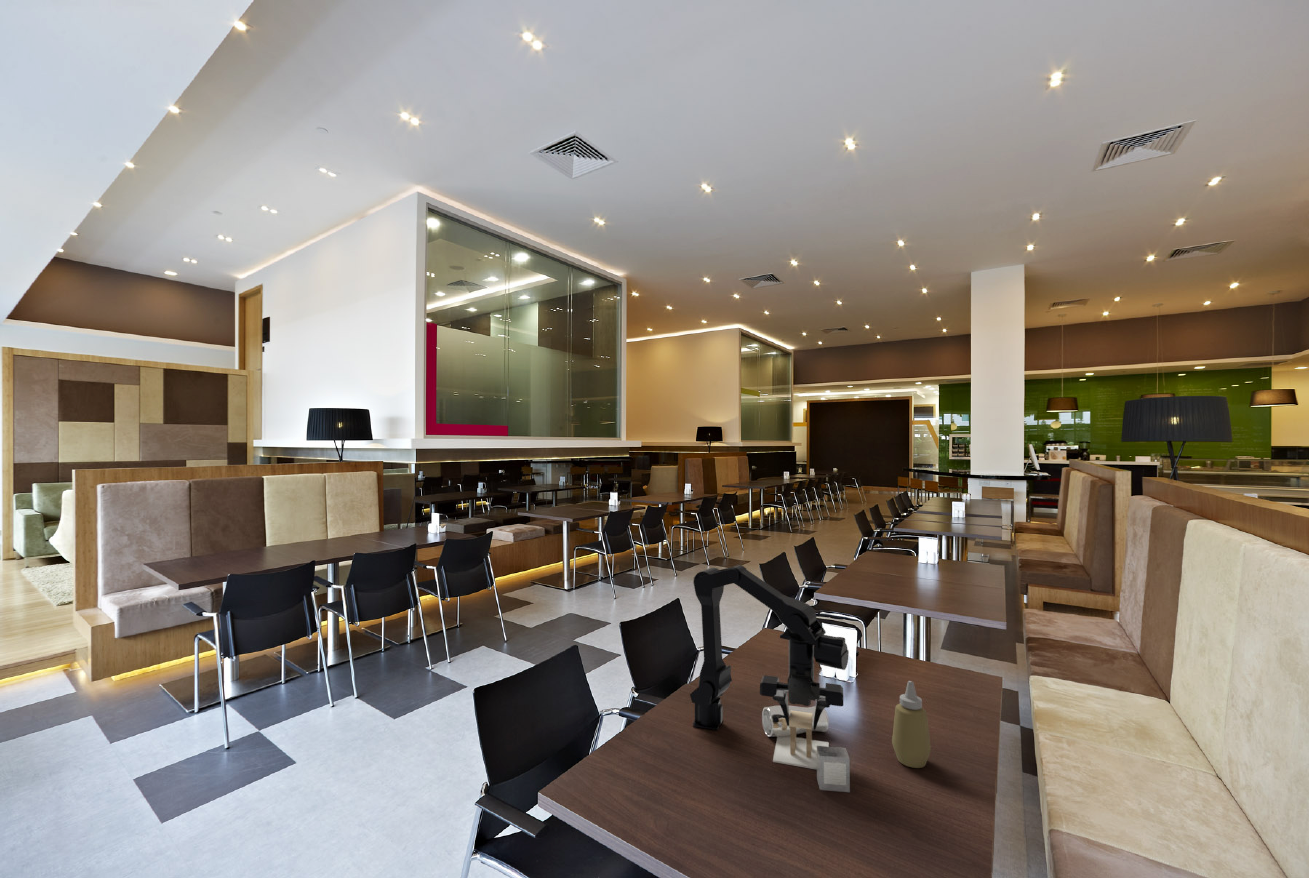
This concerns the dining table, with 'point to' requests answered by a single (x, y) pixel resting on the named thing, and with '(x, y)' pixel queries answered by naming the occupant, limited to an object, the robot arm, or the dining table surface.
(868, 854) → the dining table surface
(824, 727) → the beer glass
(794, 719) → the stool
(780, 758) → the felt pad
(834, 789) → the napkin dispenser
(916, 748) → the squeeze bottle
